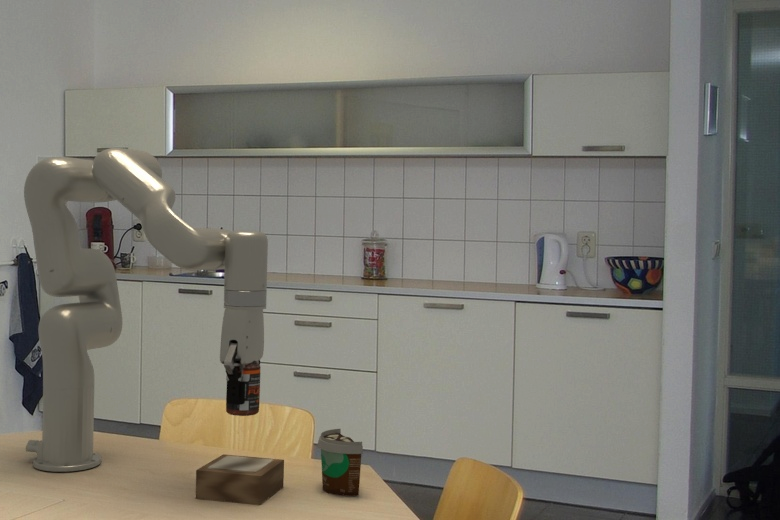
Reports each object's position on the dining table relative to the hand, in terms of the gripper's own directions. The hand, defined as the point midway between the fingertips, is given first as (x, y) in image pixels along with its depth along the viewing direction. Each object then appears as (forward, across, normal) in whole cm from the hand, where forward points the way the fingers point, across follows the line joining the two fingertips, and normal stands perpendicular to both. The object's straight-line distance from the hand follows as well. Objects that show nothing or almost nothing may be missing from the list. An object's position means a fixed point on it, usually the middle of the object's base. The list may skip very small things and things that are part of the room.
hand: (242, 399), depth 168 cm
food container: (+17, -7, +15) cm, 24 cm away
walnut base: (+17, 0, 0) cm, 17 cm away
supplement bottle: (+3, 0, 0) cm, 3 cm away
